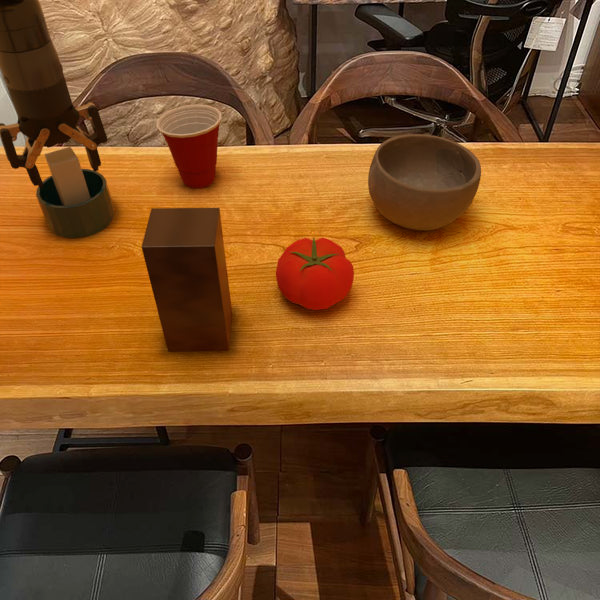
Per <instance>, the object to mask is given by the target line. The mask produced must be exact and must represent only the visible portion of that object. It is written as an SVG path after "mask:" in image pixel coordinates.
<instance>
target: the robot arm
mask: <svg viewBox="0 0 600 600" xmlns="http://www.w3.org/2000/svg"><path fill="white" fill-rule="evenodd" d="M0 72H1V74H2V78H3V80H4V83H5V85H6V88H7V91H8V93H9V96H10V99H11V101H12V104H13V107H14V109H15V112H16V115H17V122H16V123H11V124H7V125H6V124H5V123H3V122H0V141H1V143H2V147H3V150H4V153H5V155H6V159H7V160H8V162H9V164H10V167H11V168H12V169H13V170H17V169H19V168H24V169H26V172H27V175H28V178H29V180H30V182H31V184H32V185H33V186H34V187H36V186H38V187H39V188H43V187H44V185H43V180H42V179H43V178H42V177H41V174H40V172H39V168H38V166H37V164H36V162H37V159H38V157H40V156H41V154H42V151H43V149H44V147H45V148H47V149H49V148H52V147H55V146H57V145H59V144H66V143H69V141H70V140H71V139H73V140H74V141H76V142H77V143H78V144H80V145H83V146H84V148H85V152H86V155H87V158H88V162H89V166H90V167H91V170H94V171H97V172H98V171H99V170H100V169H99V167H101V166H102V161H101V157H100V154H99V149H98V147H99V145H101V144H105V143H107V142H108V136H107V134H106V131H105V126H104V124H103V120H102V118H101V115H100V112H99V109H98V108H97V107H96V105H95V104H94V103H93V101H92V100H89V99H88V100H86V101H84V104H83V105H80V106H77V107H75V106H74V104H73V101H72V98H71V93H70V90H69V87H68V85H67V81H66V78H65V74H64V68H63V64H62V62H61V61H60V57H59V54H58V52H57V49H56V47H55V45H54V43H53V39H52V37H51V34H50V31H49V27H48V25H47V21H46V17H45V14H44V11H43V8H42V5H41V3H40V1H39V0H0ZM81 117H84V119H85V120H86V121H89V122H90V125H91V127H92V132H93V133H92V134H91V135H89V134H87V132H85V131H84V130H82V129H81V128H80V127H79V126H78V124H79V121H80V118H81ZM19 133H21V134H22V135H24V136H25V137H26V140H25V142H24V143H25V144H24V148H23V151H22V154H17V153H18V152H17V150H16V148H15V144H14V142H16V141H17V140H18V134H19Z"/></svg>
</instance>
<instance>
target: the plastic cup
mask: <svg viewBox="0 0 600 600" xmlns="http://www.w3.org/2000/svg"><path fill="white" fill-rule="evenodd" d="M221 122H222V112H221V111H220V110H219V109H218V108H217V107H214V106H211V105H207V104H188V105H182V106H178V107H176V108H172V109H169V110H168V111H166V112H164V113H162V114H161V116H159V118H158V119H157V120H156V125H155V127H156V128H157V130H158V131H159V133H161V135H162V136H163V138H164V140H165V142H166V144H167V146H168V149H169V152H170V155H171V158H172V159H173V162H174V164H175V167H176V168H177V170H178V173H179V177H180V179H181V181H182V183H183V184H184V185H185V186H186V187H188V188H191V189H203V188H204V189H205V188H206V187H207V188H208V187H209V186H210V185H212V184H213V183H214V181H216V173H217V171H216V170H217V163H218V144H219V143H218V142H219V131H220V124H221Z"/></svg>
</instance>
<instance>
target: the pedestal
mask: <svg viewBox="0 0 600 600" xmlns="http://www.w3.org/2000/svg"><path fill="white" fill-rule="evenodd" d="M220 209H221V208H220V207H166V208H165V207H161V208H160V207H156V208H155V207H154V208H151V209H150V213H149V215H148V216H149V217H148V221H147V225H146V227H145V232H144V236H143V239H142V243H141V252H142V255H143V259H144V262H145V263H144V264H145V266H146V271H147V275H148V279H149V282H150V283H149V284H150V286H151V290H152V294H153V298H154V302H155V305H156V311H157V315H158V317H159V321H160V326H161V330H162V333H163V337H164V342H165V346H166V350H167V352H206V351H207V352H217V351H218V352H222V351H226V352H227V351H229V350H230V343H231V342H230V341H231V329H232V317H233V309H232V308H233V307H232V301H231V299H232V298H231V292H230V285H229V275H228V266H227V259H226V258H227V257H226V251H225V241H224V233H223V226H222V218H221V210H220Z"/></svg>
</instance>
